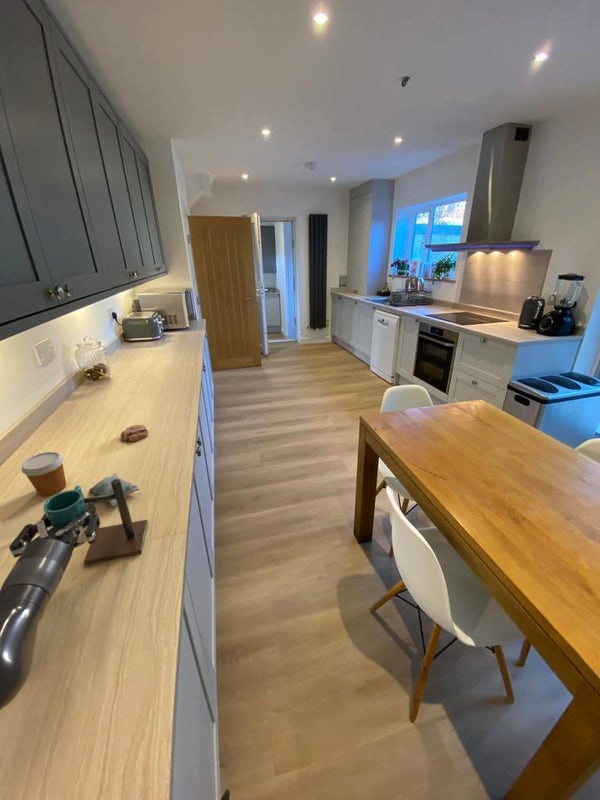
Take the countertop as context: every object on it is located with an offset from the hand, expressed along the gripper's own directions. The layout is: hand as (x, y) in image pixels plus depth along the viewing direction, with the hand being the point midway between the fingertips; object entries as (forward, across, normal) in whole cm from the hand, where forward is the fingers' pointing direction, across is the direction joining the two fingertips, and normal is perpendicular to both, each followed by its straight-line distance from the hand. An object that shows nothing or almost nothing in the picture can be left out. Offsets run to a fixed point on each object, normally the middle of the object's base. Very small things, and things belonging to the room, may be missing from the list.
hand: (72, 508), depth 70 cm
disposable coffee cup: (+27, +17, +15) cm, 35 cm away
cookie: (+58, +1, +15) cm, 60 cm away
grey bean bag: (+22, 0, +15) cm, 27 cm away
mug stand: (+3, -4, +15) cm, 16 cm away
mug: (0, 0, +6) cm, 6 cm away
